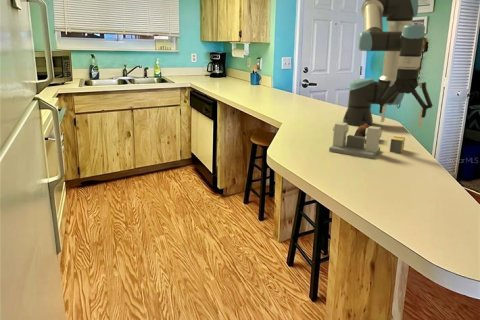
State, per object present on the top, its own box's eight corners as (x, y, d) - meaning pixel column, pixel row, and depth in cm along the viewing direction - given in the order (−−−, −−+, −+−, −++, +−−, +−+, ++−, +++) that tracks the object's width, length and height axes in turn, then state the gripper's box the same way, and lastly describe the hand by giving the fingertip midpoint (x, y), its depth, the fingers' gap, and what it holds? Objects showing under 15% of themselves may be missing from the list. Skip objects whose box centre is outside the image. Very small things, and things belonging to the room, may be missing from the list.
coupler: (389, 151, 147) (391, 139, 145) (392, 148, 151) (394, 136, 150) (400, 153, 145) (402, 141, 143) (403, 149, 149) (405, 137, 148)
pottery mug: (354, 136, 171) (365, 122, 169) (371, 148, 168) (382, 133, 165) (348, 135, 161) (359, 119, 158) (365, 148, 157) (378, 132, 155)
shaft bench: (337, 144, 157) (339, 120, 153) (381, 151, 147) (385, 125, 144) (327, 151, 147) (329, 125, 144) (374, 158, 138) (377, 131, 134)
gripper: (371, 67, 141) (365, 121, 148) (444, 70, 128) (434, 129, 135) (376, 66, 147) (370, 118, 154) (446, 69, 134) (436, 125, 141)
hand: (400, 123), depth 144 cm, fingers open, 13 cm apart
